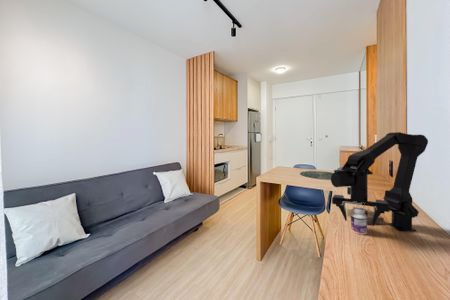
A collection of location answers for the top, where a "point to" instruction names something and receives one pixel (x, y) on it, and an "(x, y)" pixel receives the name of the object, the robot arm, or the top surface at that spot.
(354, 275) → the top surface
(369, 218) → the socket
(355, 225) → the pill bottle
